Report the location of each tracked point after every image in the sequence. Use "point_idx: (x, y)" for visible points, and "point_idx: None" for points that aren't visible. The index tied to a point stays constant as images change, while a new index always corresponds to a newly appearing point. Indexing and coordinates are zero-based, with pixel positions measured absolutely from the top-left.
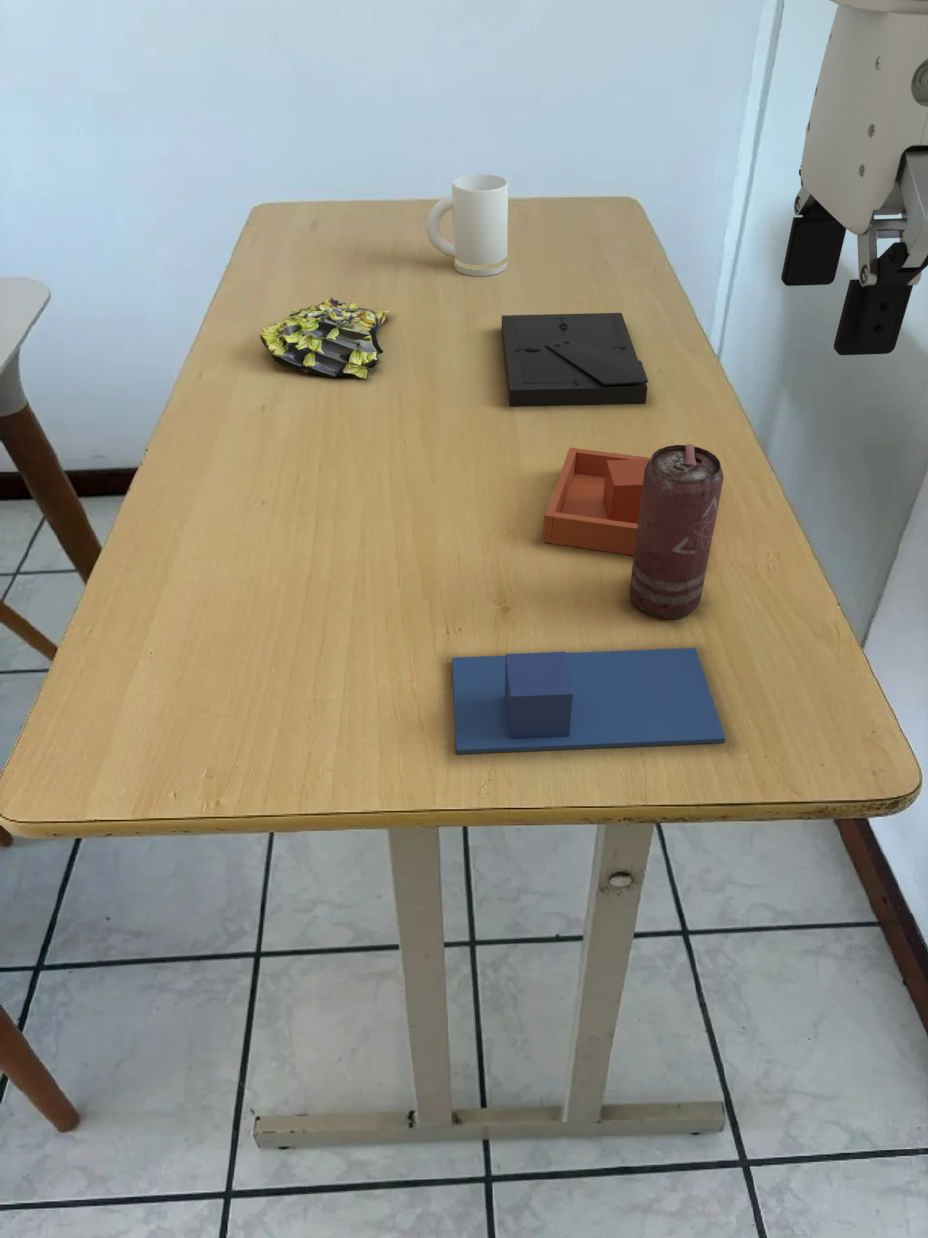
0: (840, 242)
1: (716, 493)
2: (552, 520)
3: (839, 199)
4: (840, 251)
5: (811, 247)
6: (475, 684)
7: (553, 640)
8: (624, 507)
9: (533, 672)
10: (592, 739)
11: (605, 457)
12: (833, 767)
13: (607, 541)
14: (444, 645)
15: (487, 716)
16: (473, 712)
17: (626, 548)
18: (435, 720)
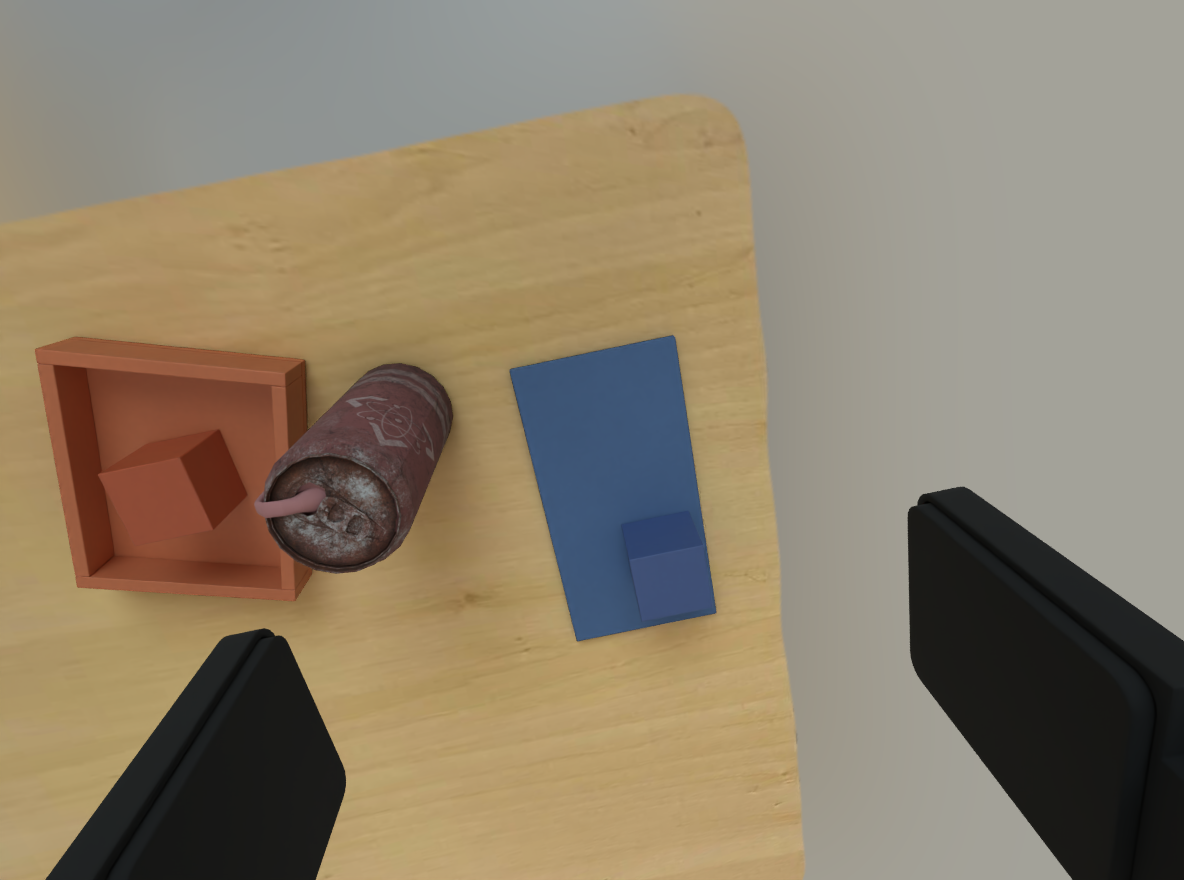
0: (194, 788)
1: (376, 443)
2: (297, 586)
3: None
4: (210, 736)
5: (267, 876)
6: (618, 612)
7: (519, 539)
8: (225, 491)
9: (670, 589)
10: (690, 486)
11: (83, 531)
12: (702, 198)
13: None
14: (549, 648)
15: None
16: None
17: None
18: (668, 635)
